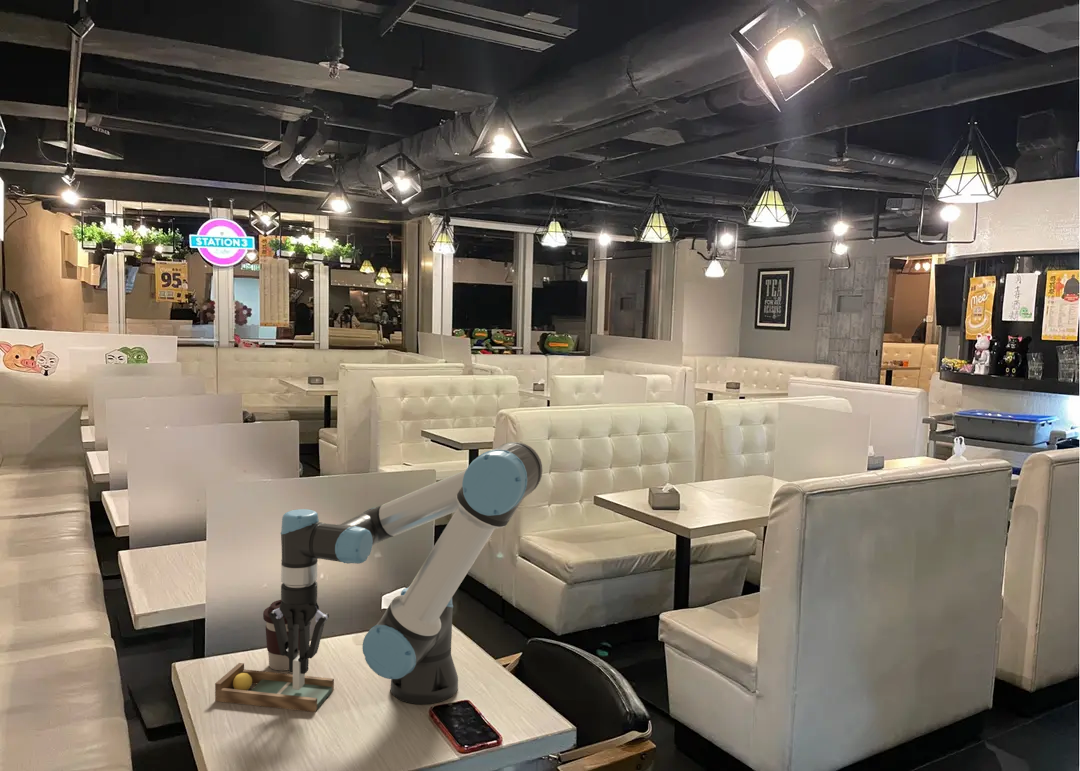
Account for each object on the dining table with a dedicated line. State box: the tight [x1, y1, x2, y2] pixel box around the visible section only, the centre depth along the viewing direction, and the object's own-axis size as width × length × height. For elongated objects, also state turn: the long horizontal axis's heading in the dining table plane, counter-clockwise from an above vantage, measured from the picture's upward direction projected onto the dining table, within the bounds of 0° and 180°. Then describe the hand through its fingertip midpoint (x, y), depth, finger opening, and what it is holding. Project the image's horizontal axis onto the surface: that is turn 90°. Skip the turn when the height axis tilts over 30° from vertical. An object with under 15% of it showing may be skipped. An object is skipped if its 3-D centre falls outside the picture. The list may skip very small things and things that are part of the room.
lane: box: [214, 662, 335, 713], centre depth 173 cm, size 23×10×4 cm, turn 82°
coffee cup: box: [262, 599, 300, 672], centre depth 187 cm, size 10×10×15 cm
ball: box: [233, 673, 253, 691], centre depth 174 cm, size 4×4×4 cm
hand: (298, 686), depth 172 cm, fingers closed
